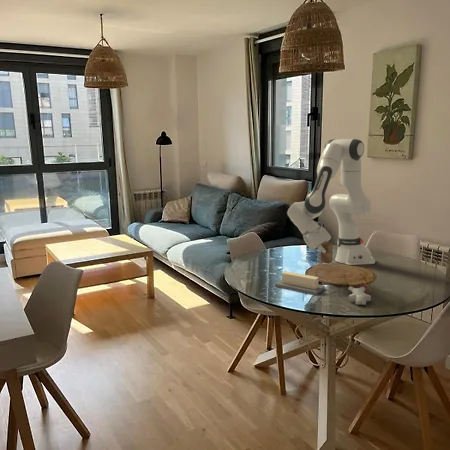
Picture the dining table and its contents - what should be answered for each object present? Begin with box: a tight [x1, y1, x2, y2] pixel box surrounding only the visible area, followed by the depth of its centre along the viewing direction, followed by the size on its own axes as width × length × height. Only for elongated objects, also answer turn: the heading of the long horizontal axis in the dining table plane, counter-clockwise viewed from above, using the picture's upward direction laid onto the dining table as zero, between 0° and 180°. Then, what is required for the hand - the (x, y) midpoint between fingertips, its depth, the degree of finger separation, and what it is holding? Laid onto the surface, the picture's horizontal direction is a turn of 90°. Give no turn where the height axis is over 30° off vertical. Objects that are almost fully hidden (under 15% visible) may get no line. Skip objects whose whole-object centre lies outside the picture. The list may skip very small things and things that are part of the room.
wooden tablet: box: [351, 283, 371, 293], centre depth 223 cm, size 26×2×10 cm
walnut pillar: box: [320, 241, 334, 264], centre depth 225 cm, size 4×4×10 cm
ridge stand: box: [274, 270, 326, 296], centre depth 218 cm, size 22×10×6 cm, turn 54°
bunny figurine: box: [347, 286, 372, 306], centre depth 201 cm, size 10×5×15 cm
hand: (327, 250), depth 224 cm, fingers closed on walnut pillar, 4 cm apart
